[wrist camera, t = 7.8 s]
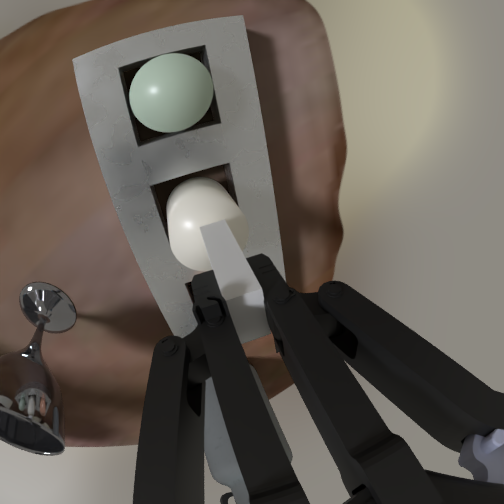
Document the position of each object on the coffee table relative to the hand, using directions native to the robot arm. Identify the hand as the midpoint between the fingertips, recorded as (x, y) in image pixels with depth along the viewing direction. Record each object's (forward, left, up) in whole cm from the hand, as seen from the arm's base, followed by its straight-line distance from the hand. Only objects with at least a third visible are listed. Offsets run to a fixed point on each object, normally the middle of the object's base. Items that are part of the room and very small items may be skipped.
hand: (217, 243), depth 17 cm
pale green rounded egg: (0, +9, -8) cm, 12 cm away
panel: (0, 0, -9) cm, 9 cm away
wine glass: (-19, -6, -9) cm, 22 cm away
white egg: (0, 0, -6) cm, 6 cm away
